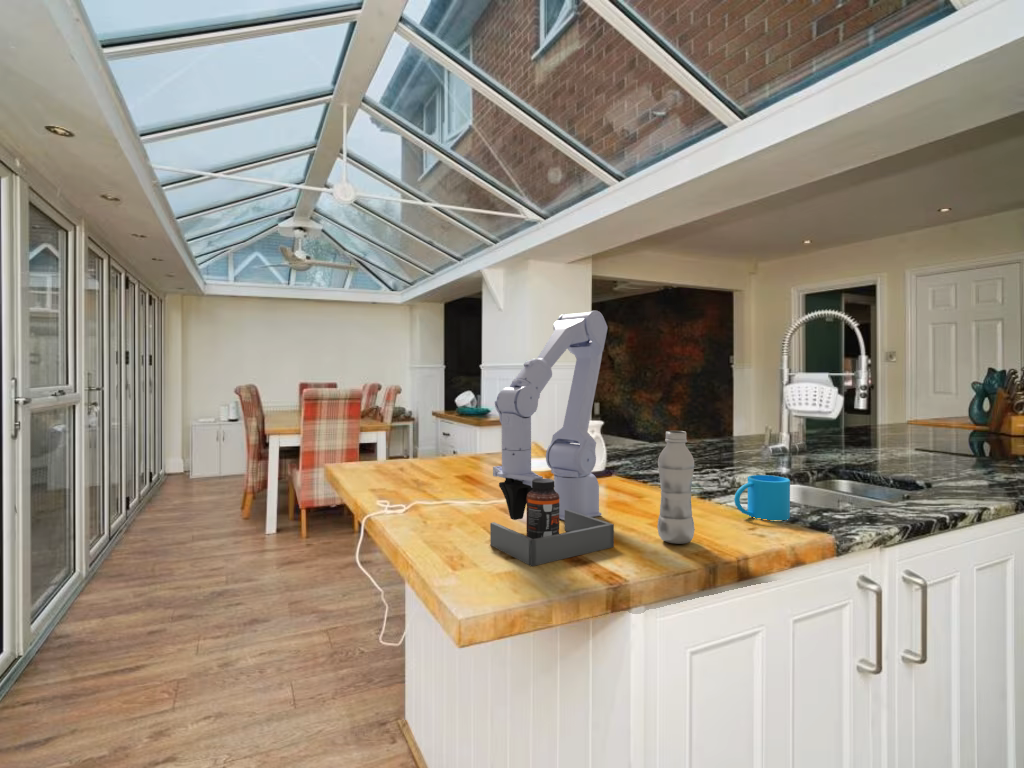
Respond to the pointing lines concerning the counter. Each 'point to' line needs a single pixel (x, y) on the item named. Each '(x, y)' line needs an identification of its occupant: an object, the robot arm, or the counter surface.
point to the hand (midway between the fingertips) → (516, 518)
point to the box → (555, 540)
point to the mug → (766, 497)
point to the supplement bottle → (542, 509)
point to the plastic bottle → (676, 490)
